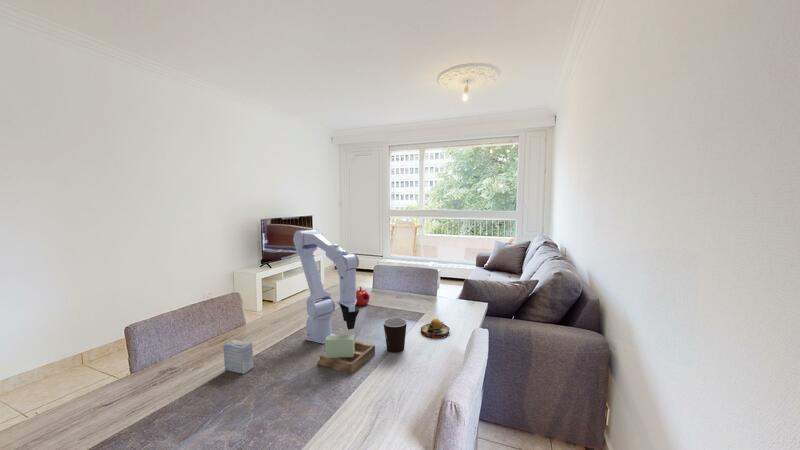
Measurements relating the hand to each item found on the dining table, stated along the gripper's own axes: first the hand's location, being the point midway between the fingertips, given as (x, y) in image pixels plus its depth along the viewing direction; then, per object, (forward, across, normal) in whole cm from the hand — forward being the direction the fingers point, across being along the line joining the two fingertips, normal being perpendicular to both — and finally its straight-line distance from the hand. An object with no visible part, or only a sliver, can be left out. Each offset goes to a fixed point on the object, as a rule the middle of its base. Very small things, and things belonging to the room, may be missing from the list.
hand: (348, 324), depth 110 cm
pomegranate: (+10, -49, +15) cm, 52 cm away
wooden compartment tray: (+10, +5, -2) cm, 11 cm away
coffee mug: (+10, +3, +17) cm, 20 cm away
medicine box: (+10, -1, -36) cm, 37 cm away
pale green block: (+7, +8, -4) cm, 11 cm away
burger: (+10, -3, +36) cm, 38 cm away
